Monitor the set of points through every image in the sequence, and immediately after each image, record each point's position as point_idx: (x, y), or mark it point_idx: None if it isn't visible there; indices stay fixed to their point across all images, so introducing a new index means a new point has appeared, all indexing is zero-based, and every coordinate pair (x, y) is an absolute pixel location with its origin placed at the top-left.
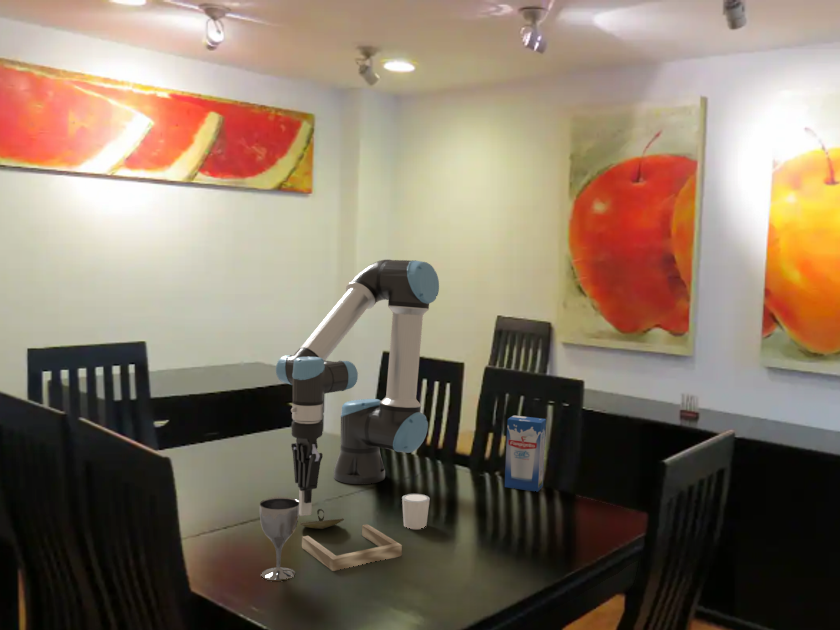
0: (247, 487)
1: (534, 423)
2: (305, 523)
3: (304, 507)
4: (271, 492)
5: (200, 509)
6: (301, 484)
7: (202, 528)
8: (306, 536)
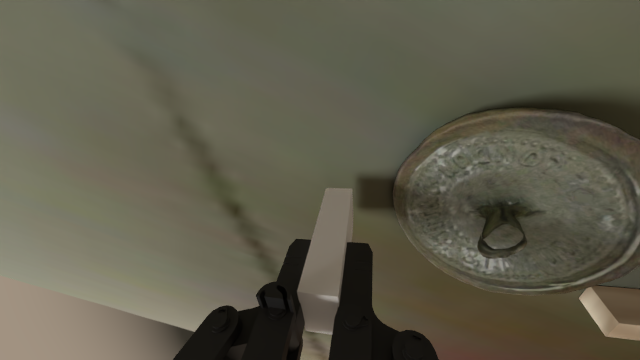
0: (6, 201)
1: None
2: (508, 291)
3: (349, 239)
4: (34, 165)
5: (187, 317)
6: (298, 350)
7: None
8: (621, 329)
